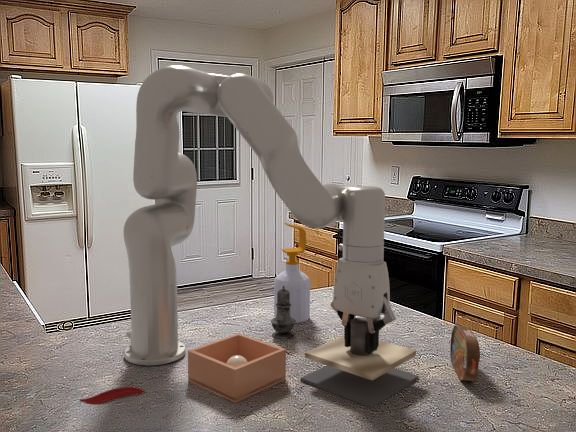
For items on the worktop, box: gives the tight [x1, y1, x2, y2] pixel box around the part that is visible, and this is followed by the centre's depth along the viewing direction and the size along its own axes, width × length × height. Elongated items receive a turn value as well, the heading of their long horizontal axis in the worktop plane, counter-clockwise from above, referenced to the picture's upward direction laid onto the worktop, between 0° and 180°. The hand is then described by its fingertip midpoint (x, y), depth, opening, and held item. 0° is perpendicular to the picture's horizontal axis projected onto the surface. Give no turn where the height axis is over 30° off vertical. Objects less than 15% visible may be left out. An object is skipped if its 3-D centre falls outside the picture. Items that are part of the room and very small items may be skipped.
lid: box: [304, 317, 417, 380], centre depth 105 cm, size 15×15×7 cm
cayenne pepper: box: [79, 386, 148, 405], centre depth 98 cm, size 12×5×2 cm, turn 98°
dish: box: [187, 332, 287, 403], centre depth 105 cm, size 13×13×6 cm
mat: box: [300, 365, 419, 409], centre depth 106 cm, size 16×16×1 cm
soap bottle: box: [273, 222, 311, 324], centre depth 141 cm, size 9×9×25 cm
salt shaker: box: [270, 286, 297, 341], centre depth 129 cm, size 6×6×12 cm
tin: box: [449, 324, 481, 382], centre depth 110 cm, size 15×3×8 cm, turn 174°
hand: (361, 347), depth 106 cm, fingers closed on lid, 4 cm apart
